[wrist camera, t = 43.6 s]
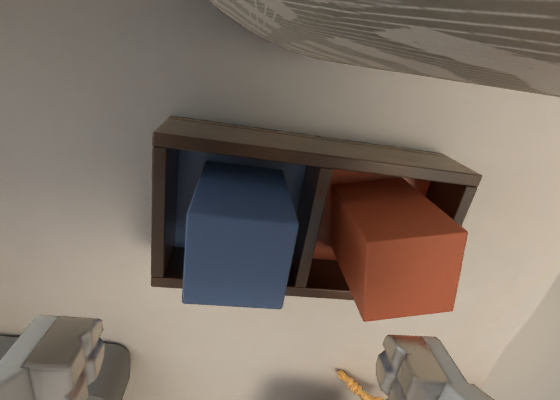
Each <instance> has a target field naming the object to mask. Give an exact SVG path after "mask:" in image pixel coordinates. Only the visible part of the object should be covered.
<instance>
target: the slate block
mask: <svg viewBox="0 0 560 400" xmlns="http://www.w3.org/2000/svg"><path fill="white" fill-rule="evenodd" d="M298 228H299V223H298V220H297V216H296V213H295V210H294V206H293V203H292V200H291V196H290V193H289V190H288V186H287V183H286V180H285V176H284V173H283V170H277V169H269V168H261V167H252V166H244V165H236V164H228V163H219V162H211V161H206V162H205V164H204V167H203V170H202V173H201V175H200V178H199V181H198V184H197V186H196V189H195V192H194V195H193V198H192V200H191V203H190V206H189V209H188V211H187V215H186V234H185V253H184V272H183V291H182V302H183V303H184V304H200V305H217V306H234V307H251V308H268V309H282V307H283V302H284V297H285V292H286V287H287V282H288V277H289V272H290V267H291V262H292V257H293V253H294V248H295V243H296V238H297V233H298Z"/></svg>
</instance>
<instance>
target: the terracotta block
mask: <svg viewBox="0 0 560 400" xmlns="http://www.w3.org/2000/svg"><path fill="white" fill-rule="evenodd" d="M467 234H468V232H467V231H466V230H465V229H464V228H463V227H461V226H460V225H459V224H458V223H457V222H455V221H454V220H453V219H452V218H451V217H449V216H448V215H447V214H446V213H444V212H443V211H442V210H441V209H440V208H438V207H437V206H436V205H435V204H434V203H432V202H431V201H430V200H429V199H428V198H426V197H425V196H424V195H423V194H421V193H420V192H419V191H418V190H417V189H415V188H414V187H413V186H412V185H411V184H409V183H408V182H407V181H406V180H405V179H403V178H398V179H387V180H377V181H367V182H356V183H346V184H335V185H332V186H331V247H332V249H333V252H334V254H335V256H336V259H337V261H338V263H339V266H340V268H341V270H342V273H343V275H344V277H345V280H346V282H347V284H348V287H349V289H350V291H351V294H352V296H353V298H354V301H355V303H356V305H357V308H358V310H359V312H360V315H361V317H362V319H363V321H365V322H366V321H374V320H382V319H391V318H399V317H407V316H416V315H424V314H432V313H441V312H449V311H453V308H454V302H455V297H456V292H457V287H458V281H459V276H460V271H461V266H462V260H463V255H464V250H465V245H466V239H467Z"/></svg>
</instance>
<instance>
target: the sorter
mask: <svg viewBox="0 0 560 400" xmlns="http://www.w3.org/2000/svg"><path fill="white" fill-rule="evenodd" d="M152 145H153V147H152V235H151V286H152V287H166V288H181V289H183V272H184V253H185V234H186V215H187V211H188V209H189V206H190V203H191V200H192V198H193V195H194V192H195V189H196V186H197V184H198V181H199V178H200V175H201V173H202V170H203V167H204V164H205V162H206V161H211V162H219V163H228V164H236V165H244V166H252V167H261V168H269V169H277V170H283V173H284V176H285V180H286V183H287V186H288V190H289V193H290V196H291V200H292V203H293V206H294V210H295V213H296V216H297V220H298V223H299V228H298V233H297V238H296V243H295V248H294V253H293V257H292V262H291V267H290V272H289V277H288V282H287V287H286V292H285V295H286V296H301V297H316V298H331V299H346V300H354V298H353V296H352V294H351V291H350V289H349V287H348V284H347V282H346V280H345V277H344V275H343V273H342V270H341V268H340V266H339V263H338V261H337V259H336V256H335V254H334V252H333V249H332V247H331V186H332V185H335V184H346V183H356V182H367V181H377V180H387V179H398V178H403V179H405V180H406V181H407V182H408V183H409V184H411V185H412V186H413V187H414V188H415V189H417V190H418V191H419V192H420V193H421V194H423V195H424V196H425V197H426V198H428V199H429V200H430V201H431V202H432V203H434V204H435V205H436V206H437V207H438V208H440V209H441V210H442V211H443V212H444V213H446V214H447V215H448V216H449V217H451V218H452V219H453V220H454V221H455V222H457V223H458V224H459V225H460V226H462V223H463V221H464V219H465V216H466V214H467V211H468V209H469V207H470V204H471V202H472V199H473V197H474V195H475V192H476V190H477V187H478V185H479V183H480V180H481V178H482V175H480V174H478V173H477V172H475V171H473V170H471V169H469V168H467V167H465V166H464V165H462V164H460V163H458V162H456V161H454V160H452V159H451V158H449V157H447V156H445V155H443V154H440V153H433V152H426V151H419V150H412V149H405V148H397V147H390V146H383V145H376V144H369V143H361V142H354V141H347V140H340V139H333V138H326V137H318V136H311V135H304V134H297V133H290V132H283V131H275V130H268V129H261V128H254V127H247V126H239V125H232V124H225V123H218V122H211V121H204V120H196V119H189V118H182V117H175V116H170V117H169V118H168V119H167V120H166V121H165V122H164V123H163V124H162V125H160V126H159V127H158V128H157V129H156V130H155V131H154V132H153V133H152Z"/></svg>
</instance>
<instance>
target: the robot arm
mask: <svg viewBox="0 0 560 400" xmlns="http://www.w3.org/2000/svg"><path fill="white" fill-rule="evenodd" d="M102 331H103V323H102V320H101V319H94V318H82V317H69V316H52V315H39V316H37V317H36V318H34V319H33V321H32V322H31V323H30V324H29V326H28V327H27V328H26V329H25V331H24V332H23V333H22V334H21V335H20V337H19V338H18V339H17V340H16V342H15V343H14V344H13V345H12V347H11V348H10V349H9V350H8V352H7V353H6V354H5V355H4V357H3V358H2V359H1V360H0V400H87V398H88V385H89V384H91V383H92V382H93V381H95V380H96V378H97V376H98V374H99V372H100V369H101V366H102V362H103V359H104V351H105V346H104V341H103V340H102V339H101V338H100V335H101V333H102ZM383 346H384V349H385V351H383V352H382V353H381V354H379V355H378V359H377V362H376V376H377V381H378V384H379V387H380V389H381V390H382V391H383V392H384V393H385V394H386V395H387V396H388V398H387V400H494V399H492V398H491V397H490V396H488V395H487V394H486V393H484V392H483V391H482V390H480V389H479V388H478V387H476V386H475V385H474V384H468V382H467V381H466V379H465V378H464V376H463V375H462V373H461V372H460V370H459V369H458V367H457V366H456V364H455V363H454V361H453V359H452V358H451V356H450V355H449V353H448V352H447V350H446V349H445V347H444V346H443V344H442V343H441V341H440V340H439V339H438V338H436V337H428V336H404V335H388V336H386V337H385V339H384V342H383Z"/></svg>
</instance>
